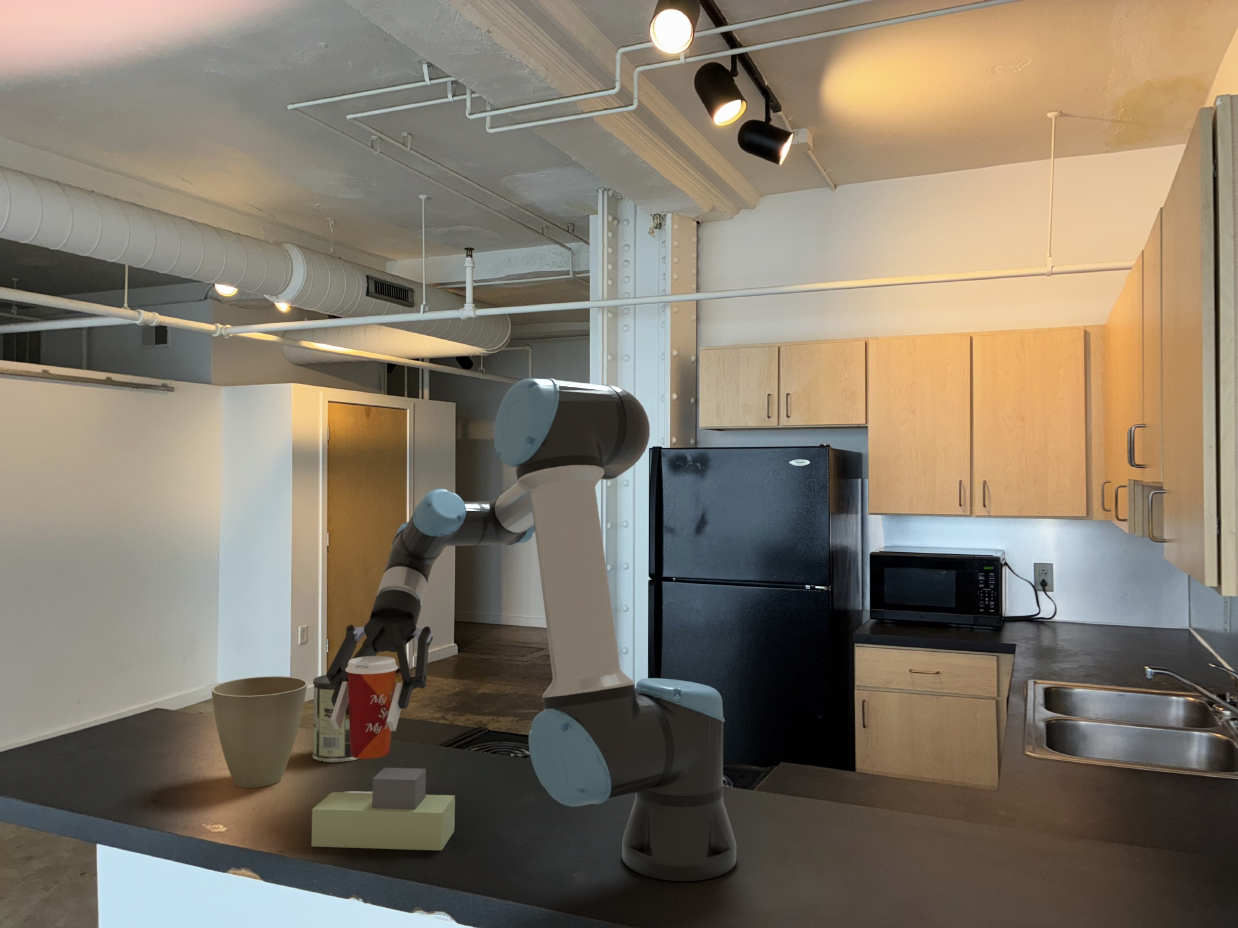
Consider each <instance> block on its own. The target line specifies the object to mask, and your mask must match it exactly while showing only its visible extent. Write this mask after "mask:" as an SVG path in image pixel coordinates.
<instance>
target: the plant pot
mask: <svg viewBox="0 0 1238 928" xmlns="http://www.w3.org/2000/svg"><path fill="white" fill-rule="evenodd" d="M307 687H308V682H307V680H304V679H303V678H299V677H293V676H278V675H277V676H275V675H274V676H272V675H271V676H255V677H253V676H252V677H246V678H239V679H234V680H233V679H232V680H228V681H223V682H221V683H220V682H219V683H218V684H216V685H214V686H213V687H211V697H212V698H211V699H212V705H213V712H214V719H215V724H216V730H217V734H218V738H219V742H220V747H221V750H222V753H223V757H224V759H225V762H226V766H227V767H228V768H227V769H228V772H229V774H230V777H231V779H232V781H233V784H234V785H235V786H236V787H239V788H243V789H249V788H250V789H256V788H257V789H258V788H264V787H269V786H271V785H275V784H277V783H279V782H280V781H281V780H282V779H283V776H284V774H285V771H286V768H287V765H288V763H289V760H290V757H291V755H292V752H293V749H294V746H295V743H296V742H295V741H296V739H297V735H298V732H299V728H300V725H301V721H302V715H303V710H304V706H305V700H306V694H307V689H308V688H307Z"/></svg>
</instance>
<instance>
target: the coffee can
mask: <svg viewBox="0 0 1238 928" xmlns="http://www.w3.org/2000/svg"><path fill="white" fill-rule="evenodd" d="M312 685H313V720H312V721H313V724H312V725H313V726H312V727H313V728H312V729H313V730H312V731H313V734H312V737H313V738H312V759H314V760H315V759H316V760H315V761H317V760H318V762H321V761H323V762H322V763H344V762H345V761H346V762H351V761H357V760H359V759H358V758H354V757H352V756H351V746H350V724H349V702H348V706H347V709H346V712H345V715H344V718H343V722H342V725H341V728H340V730H335V728H334V726H333V724H332V722H331V720H330V719H331V716H332V713H333V710H334V706H333V704H332V701H331V698H332V696H333V692H334V689H335V686H331V685H330V682H329V680H328V678H327V676H326V674H323V675H320V676H316V677H314V678H313V680H312ZM346 762H345V763H346Z"/></svg>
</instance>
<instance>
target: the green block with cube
mask: <svg viewBox="0 0 1238 928" xmlns="http://www.w3.org/2000/svg"><path fill="white" fill-rule="evenodd" d="M426 772H427V768H419V767H418V768H415V767H414V768H411V767H384V768H382V769H380V771H379V772H378V773H377V774H376V775H375V776H374V777H372V790H371V791H355V790H351V791H350V790H345V791H342V792H340V791H337V792H336V791H335V792H333V791H331V793H329V794H328V795H327V796H325V798H324V799H322V800H321V801H320V802H319V803H317V804H316V806H314V807H313V808H312V809H311V847H315V848H316V847H318V848H319V847H320V848H324V847H325V848H346V849H347V848H351V849H352V848H353V849H357V848H358V849H383V850H384V849H385V850H387V849H388V850H411V851H412V850H413V851H415V850H416V851H443V849H444V848H445V846H446V844H447V843H448V841H449V840H450V838H451V837H452V835H454V832H455V826H456V823H455V816H456V815H455V814H456V813H455V810H456V807H455V806H456V795H453V794H451V795H448V794H426V789H427V788H426V783H427V781H426V780H427V775H426V774H427V773H426Z"/></svg>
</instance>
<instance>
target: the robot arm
mask: <svg viewBox="0 0 1238 928" xmlns="http://www.w3.org/2000/svg"><path fill="white" fill-rule="evenodd" d="M650 429H651V428H650V422H649V417H648V414H647V412H646V411H645V408H644V406H643V405H642V403H641V402H640V400H638V398H637V397H635V396H634V394H632V393H631V392H629V391H627V390H626V389H623V388H622V387H619V386H615V385H609V384H597V383H595V384H594V383H588V382H580V381H568V380H558V379H554V378H552V377H545V378H525V379H521V380H519V381H518V382H516V383H514V385H512V386H511V387H510V388H509V390H508V391H507V392H506V394H505V395H504V397H503V398H502V401H501V403H500V406H499V407H498V410H497V414H496V417H495V421H494V431H493V438H494V439H493V441H494V448H495V451H496V454H497V456H498V457H499V459H500V461H501V462H502V463H503V464H505V465H507V466H509V467H511V468H515V472H516V474H515V475H516V481H517V482H516V483H514V484H513V485H512V486H511V487H510V488H508V489H507V490H505V491H504V492H503V493H501V494H500V495H499V496H497V497H496V498H495V499H493V500H491V501H489V500H487V501H481V500H480V501H478V500H477V501H464V500H463V499H462V497H460V495H458V494H457V493H455V492H451V491H449V490H448V489H445V488H437V489H434V490H431V491H429V492H428V493H426V495H425V496H424V497H423V498H422V499H421V501H419V503H418V504H417V505H416V507H415V508H414V511H413V513H412V515H411V517H410V518H409V520H408V521H407V522H404V523H402V524H401V525H400V526H399V527H398V529H397V532H396V534H395V537H394V538H393V539H392V542H391V549H390V552H389V555H388V559H387V563H386V566H385V569H384V572H383V575H382V578H381V581H380V584H379V586H378V588H377V589H378V590H377V594H376V597H375V599H374V602H373V604H372V605H373V606H372V608H371V613H370V616H369V617H370V618H369V619H368V621H367V622H366V623H365V625H364V626H360V627H355V626H354V624H349V625H347V626H346V627H345V628H346V630H345V637H344V640H343V641H342V643H341V645H340V647H339V649H338V651H337V652H336V655H335V656H334V658H333V660H332V662H331V664H330V666H329V668H328V670H327V672H326V674H325V675H326V676H327V678H328V680H329V682H330V685H331V686H335V689H334V692H333V696H332V698H331V701H332V704H333V706H334V710H333V713H332V716H331V719H330V720H331V722H332V724H333V726H334V728H335V730H340V728H341V725H342V722H343V718H344V715H345V712H346V709H347V706H348V702H349V699H348V672H346V671H345V669H346V667H348V662H349V660H351V659H354V658H358V657H363V659H364V657H366V656H377V654H379V653H383V652H390V653H396V654H397V655H396V656H397V659H398V660H397V661H398V664H399V669H400V675H401V680H402V682H396V683H395V684H396V685H395V689H394V695H393V699H392V703H391V706H390V710H389V714H388V718H387V724H388V726H389V729H390V731H391V732H396V731H397V727H398V723H399V719H400V715H401V711H402V709H405V710H407V708H408V707H409V704H410V700H411V697H412V692H413V691H414V690H415V689H418V688H419V689H424V688H426V686H427V677H428V675H427V674H428V662H429V661H428V660H429V659H428V658H429V647H430V646H431V644H432V642H433V639H434V637H433V633H432V631H431V627H430V626H424V627H423V628H420V627H417V624H418V620H419V617H420V613H421V609H422V605H423V602H424V598H425V594H426V589H427V586H428V583H429V582H428V581H429V578H430V575H431V572H432V568H433V566H434V564H435V562H436V561H437V559H438V557H440V555H441V554H442V553H443V551H444V550H445V548H446V547H449V546H450V547H455V546H456V547H459V546H462V547H463V546H488V545H489V546H491V545H492V546H493V545H494V546H496V545H506V546H513V545H516V544H524V543H527V542H529V541H530V540H531V539H532V538H533V534H535V543H536V550H537V552H536V553H537V559H538V566H539V574H540V583H541V590H542V592H541V593H542V600H543V609H544V617H545V618H544V619H545V625H546V633H547V640H548V642H547V643H548V651H549V659H550V666H551V667H550V668H551V674H552V676H551V677H552V680H551V683H550V684H549V686H548V687H547V688H546V690H545V691H544V693H543V694H542V701H543V710H542V711H540V712H539V713H538V714H537V715H535V717H534V718H533V719H532V721H531V723H530V731H529V732H528V748H529V749H528V750H529V756H530V760H531V763H532V764H531V765H532V768H533V770H534V772H535V774H536V776H537V778H538V780H539V782H540V784H541V785H542V787H544V788H545V790H546V791H547V793H548V795H550V796H551V798H553V799H554V800H555V801H557V802H558V803H560V804H561V805H564V806H568V807H581V806H587V805H592V804H593V805H600V804H603V803H605V802H606V801H608V800H611V799H616V798H620V797H624V796H628V795H630V794H635V798H634V801H633V805H632V808H631V810H630V813H629V818H628V820H627V823H626V826H625V830H624V833H623V836H622V843H621V844H622V845H621V850H622V851H621V858H622V860H623V863H624V864H625V865H626V867H628V868H629V869H631V870H632V871H634V872H636V873H638V874H641V875H643V876H646V877H650V878H653V879H657V880H662V881H672V882H673V881H674V882H693V881H694V882H696V881H703V880H710V879H714V878H716V877H720V876H722V875H724V874H726V873H728V872H729V871H731V870H732V869H733V868H734V867H735V865H736V863H737V842H736V839H735V835H734V832H733V828H732V824H731V822H730V818H729V815H728V812H727V809H726V805H725V802H724V734H725V733H724V728H725V726H724V725H725V724H724V723H725V721H726V720H725V718H724V710H723V709H724V708H723V699H722V696H721V694H720V692H719V690H717V689H716V688H713V687H712V686H710V685H705V684H701V683H699V682H698V683H697V682H694V681H687V680H681V679H680V680H679V679H669V678H657V677H654V678H652V677H651V678H650V677H649V678H642V679H639V680H638V681H637V682H636V684H635V681H634V680H632V679H631V678H630V677H629V676H628V675H626V674H625V673H624V672H623V671H622V669H621V666H620V658H619V651H618V645H617V643H618V642H617V637H616V630H615V623H614V616H613V615H614V614H613V607H612V600H611V593H610V588H609V587H610V586H609V578H608V572H607V564H606V558H605V549H604V543H603V535H602V534H603V533H602V528H601V520H600V512H599V506H598V498H597V493H596V486H597V484H598V483H599V482H600V481H602V480H603V481H610V480H613V479H616V478H617V477H619V476H621V475H622V474H624V473H625V472H627V471H628V470H630V469H631V468H632V467H634V465H635V464H636V463H638V462H639V460H640V459H641V458H642V456H643V454H644V453H645V452H646V449H647V447H648V444H649V440H650V436H651V434H650V433H651V432H650V431H651V430H650ZM363 636H366V638H365V639H364V640H363V642H362V645H361V647H360V648H359V650H358V651H357V652H356V653H355V654H354V652H355V650H356V648H357V646H358V643H360V642H361V639H362V637H363ZM414 638H416V641H417V648H416V661H415V662H416V663H415V664H416V665H415V674H414V675H413V676H412V673H411V669H410V663H409V659H408V653H407V650H406V645H407V644H408V643H410V642H411V641H412V640H413V639H414ZM353 654H354V655H353ZM352 656H353V657H352Z"/></svg>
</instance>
